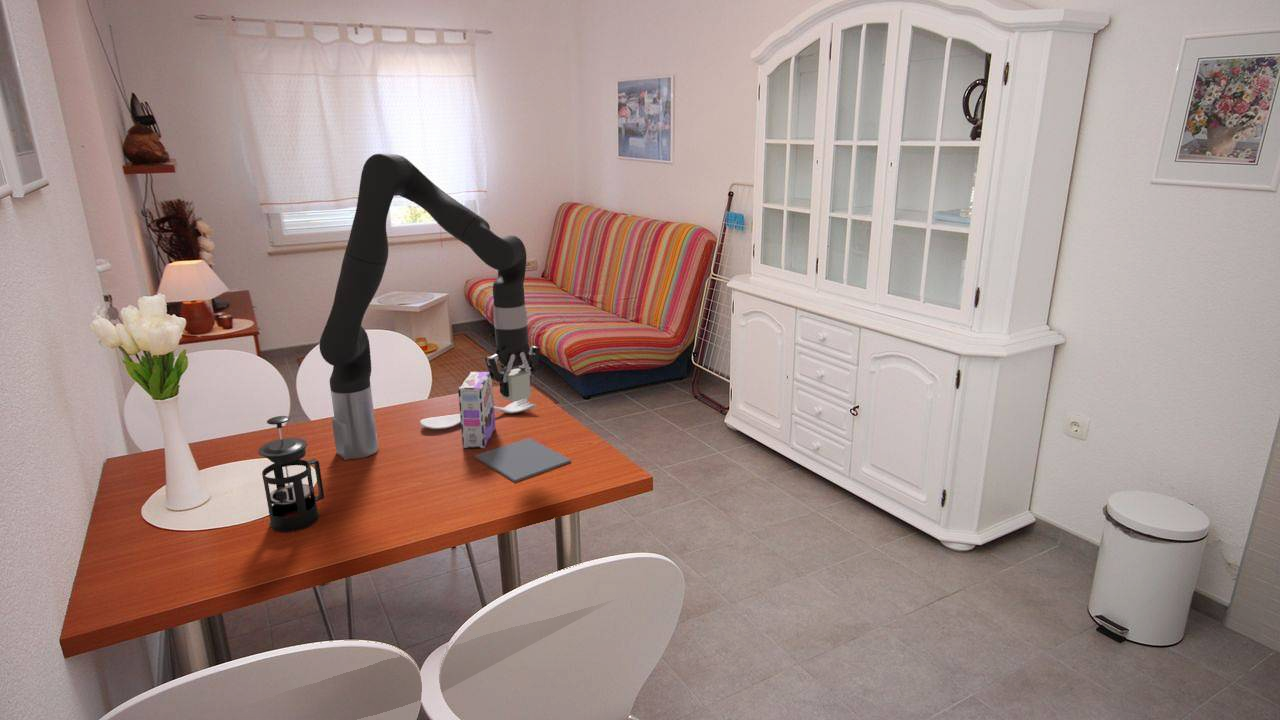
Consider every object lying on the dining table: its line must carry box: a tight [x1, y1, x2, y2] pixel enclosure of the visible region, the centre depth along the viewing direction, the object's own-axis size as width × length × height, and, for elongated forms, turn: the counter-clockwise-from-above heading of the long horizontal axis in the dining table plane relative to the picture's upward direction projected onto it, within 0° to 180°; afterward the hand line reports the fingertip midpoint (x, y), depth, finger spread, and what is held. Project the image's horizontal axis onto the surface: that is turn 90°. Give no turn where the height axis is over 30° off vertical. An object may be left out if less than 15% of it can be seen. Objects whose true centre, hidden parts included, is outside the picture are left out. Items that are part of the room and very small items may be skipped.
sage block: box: [501, 367, 532, 403], centre depth 174 cm, size 5×5×6 cm
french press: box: [257, 415, 325, 533], centre depth 151 cm, size 12×9×23 cm
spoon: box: [419, 398, 538, 430], centre depth 206 cm, size 9×32×4 cm, turn 120°
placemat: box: [474, 437, 572, 483], centre depth 181 cm, size 16×18×1 cm
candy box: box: [457, 371, 496, 449], centre depth 192 cm, size 14×6×16 cm, turn 179°
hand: (515, 392), depth 175 cm, fingers closed on sage block, 5 cm apart
